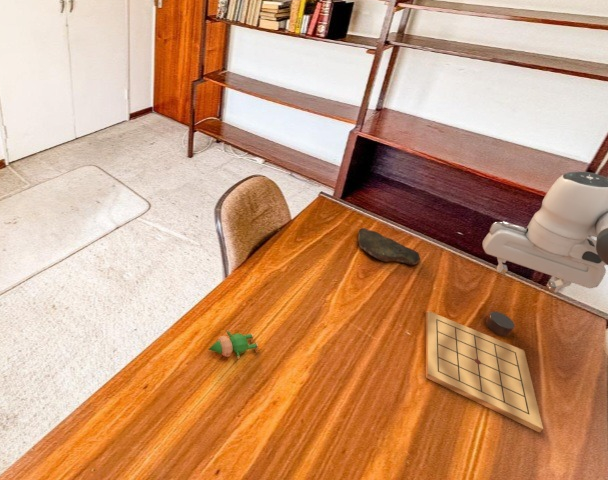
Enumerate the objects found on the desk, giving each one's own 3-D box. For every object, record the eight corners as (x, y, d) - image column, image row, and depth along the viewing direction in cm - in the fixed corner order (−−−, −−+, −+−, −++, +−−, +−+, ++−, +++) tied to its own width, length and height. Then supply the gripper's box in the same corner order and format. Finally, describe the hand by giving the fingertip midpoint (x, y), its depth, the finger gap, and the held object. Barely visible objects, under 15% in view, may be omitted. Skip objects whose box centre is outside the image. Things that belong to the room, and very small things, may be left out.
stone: (419, 258, 124) (422, 251, 123) (412, 279, 116) (415, 271, 115) (359, 232, 134) (361, 225, 133) (349, 250, 126) (351, 243, 125)
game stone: (508, 325, 103) (513, 317, 102) (511, 340, 99) (516, 332, 98) (484, 315, 106) (489, 308, 104) (486, 330, 102) (491, 322, 101)
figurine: (259, 360, 93) (211, 369, 90) (247, 333, 99) (201, 341, 96) (263, 347, 91) (214, 357, 88) (250, 321, 97) (204, 329, 94)
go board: (521, 354, 96) (524, 350, 95) (539, 433, 81) (543, 428, 80) (425, 314, 105) (427, 310, 105) (425, 377, 90) (428, 373, 89)
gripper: (497, 226, 91) (473, 269, 97) (620, 264, 81) (585, 310, 87) (493, 211, 96) (470, 254, 102) (609, 246, 86) (577, 290, 92)
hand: (525, 280), depth 95 cm, fingers open, 8 cm apart
